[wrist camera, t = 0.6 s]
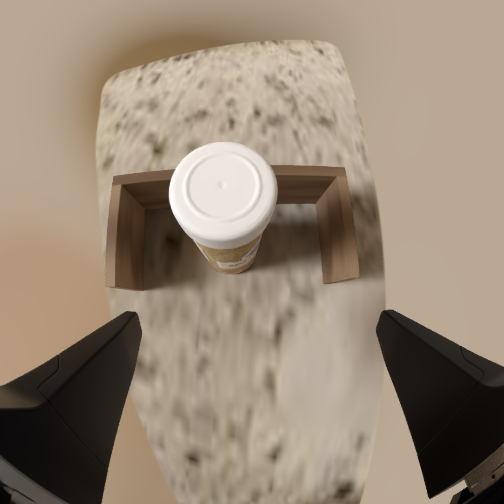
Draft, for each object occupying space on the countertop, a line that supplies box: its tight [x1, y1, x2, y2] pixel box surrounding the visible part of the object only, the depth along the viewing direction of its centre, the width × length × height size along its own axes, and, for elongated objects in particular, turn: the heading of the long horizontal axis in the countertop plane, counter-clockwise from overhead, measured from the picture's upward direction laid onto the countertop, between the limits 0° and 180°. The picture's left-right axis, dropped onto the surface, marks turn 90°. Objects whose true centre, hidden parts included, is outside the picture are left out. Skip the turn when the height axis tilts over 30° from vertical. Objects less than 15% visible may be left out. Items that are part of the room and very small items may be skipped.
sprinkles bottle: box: [169, 142, 278, 274], centre depth 17 cm, size 5×5×14 cm
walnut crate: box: [105, 165, 360, 291], centre depth 21 cm, size 8×18×6 cm, turn 93°
